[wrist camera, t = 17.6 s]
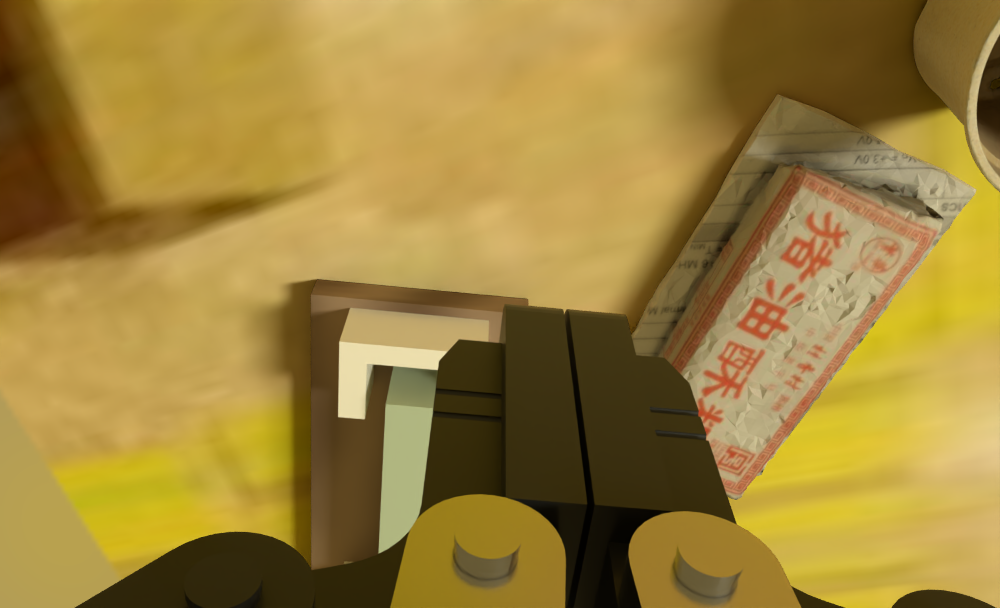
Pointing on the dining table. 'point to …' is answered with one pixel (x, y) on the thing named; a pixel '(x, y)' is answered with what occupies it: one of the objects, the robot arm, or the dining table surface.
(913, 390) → the dining table surface
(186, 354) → the dining table surface
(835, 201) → the packaged product
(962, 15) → the flower pot
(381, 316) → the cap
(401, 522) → the slat
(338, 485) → the board
